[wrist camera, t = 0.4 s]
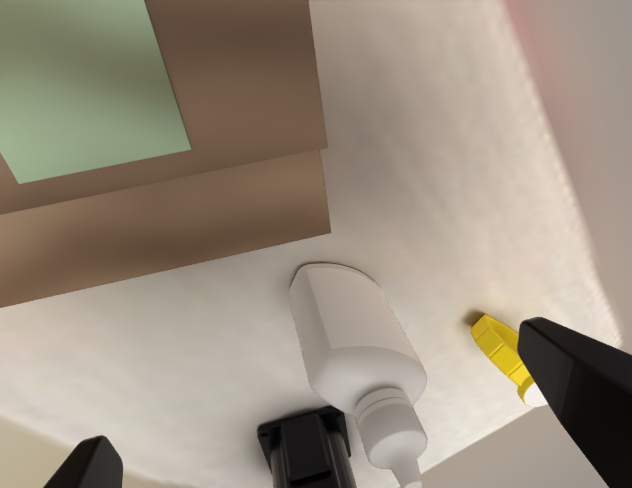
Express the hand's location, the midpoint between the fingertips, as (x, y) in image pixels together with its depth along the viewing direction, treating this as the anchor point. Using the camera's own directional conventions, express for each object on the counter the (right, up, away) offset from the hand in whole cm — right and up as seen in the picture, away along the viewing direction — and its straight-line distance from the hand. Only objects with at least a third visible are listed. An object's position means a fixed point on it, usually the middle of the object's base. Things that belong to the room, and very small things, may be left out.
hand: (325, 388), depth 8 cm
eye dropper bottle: (+1, +1, +16) cm, 16 cm away
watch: (+12, -3, +21) cm, 24 cm away
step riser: (-9, +9, +9) cm, 15 cm away
